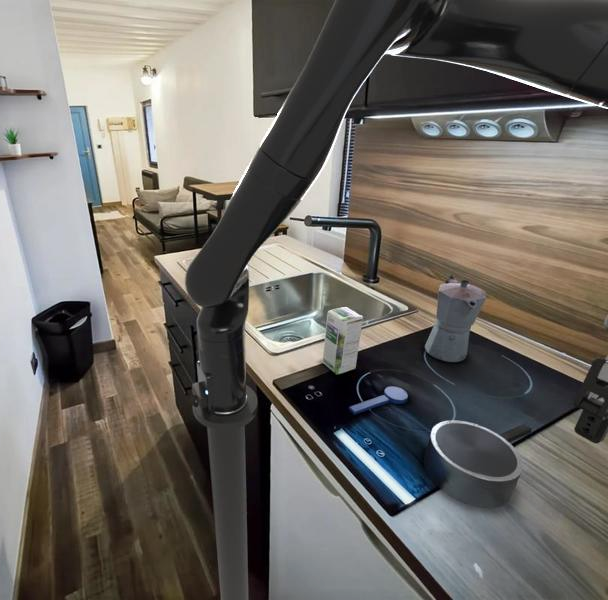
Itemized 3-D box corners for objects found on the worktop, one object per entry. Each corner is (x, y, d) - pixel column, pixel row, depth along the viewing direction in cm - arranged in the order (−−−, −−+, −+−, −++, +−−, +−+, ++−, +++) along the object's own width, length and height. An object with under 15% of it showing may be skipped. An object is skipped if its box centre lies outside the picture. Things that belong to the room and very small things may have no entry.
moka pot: (435, 369, 85) (455, 291, 77) (411, 335, 99) (426, 266, 90) (480, 370, 84) (505, 291, 75) (449, 335, 97) (468, 265, 89)
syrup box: (321, 362, 90) (325, 310, 84) (340, 356, 92) (346, 305, 86) (336, 375, 85) (342, 321, 79) (356, 368, 87) (364, 315, 81)
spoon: (359, 419, 72) (359, 415, 72) (344, 405, 76) (344, 401, 76) (411, 400, 76) (412, 396, 76) (395, 387, 80) (396, 384, 80)
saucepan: (474, 520, 53) (485, 492, 50) (407, 458, 63) (413, 432, 61) (558, 476, 59) (572, 449, 56) (483, 426, 69) (492, 401, 66)
